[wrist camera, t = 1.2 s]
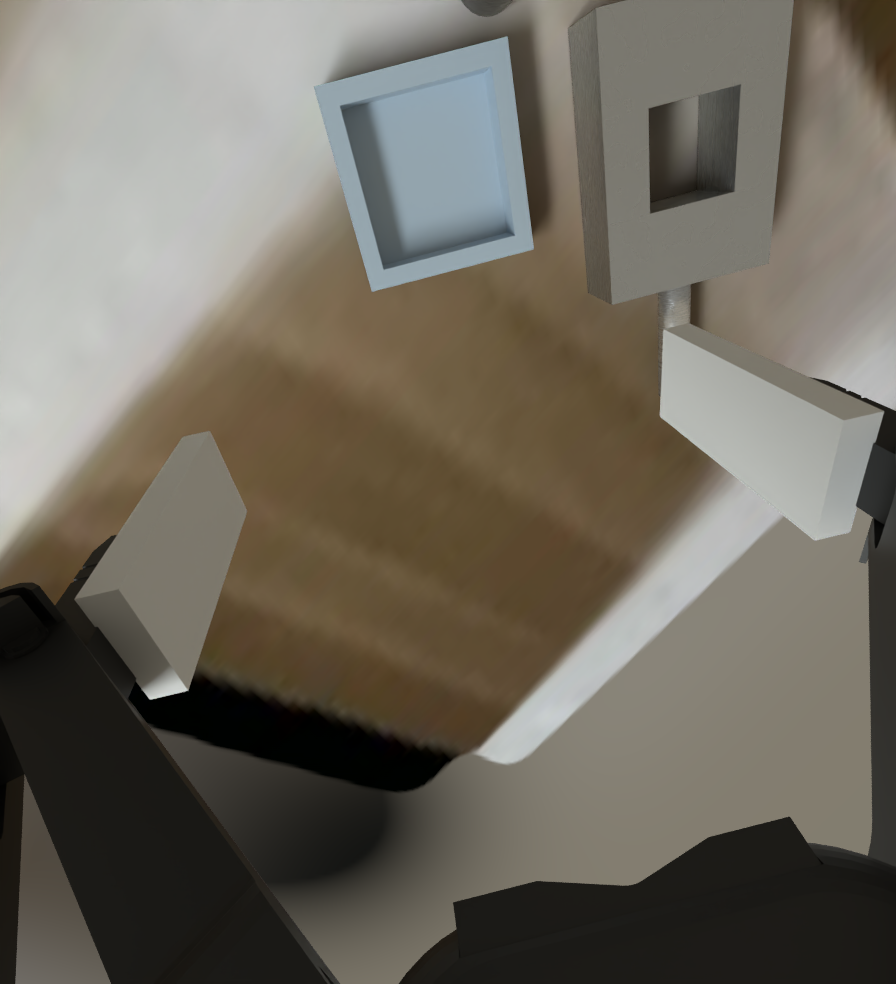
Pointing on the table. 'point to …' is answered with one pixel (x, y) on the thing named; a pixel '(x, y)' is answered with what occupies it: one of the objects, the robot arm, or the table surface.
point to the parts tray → (431, 162)
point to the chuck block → (721, 143)
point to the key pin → (486, 6)
